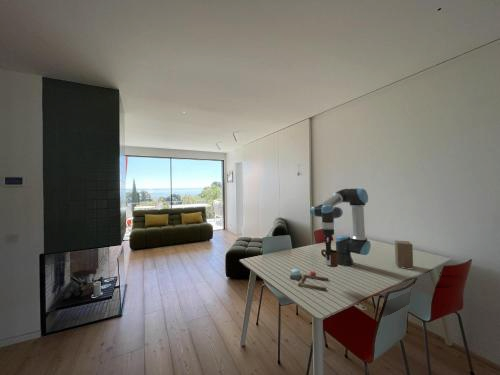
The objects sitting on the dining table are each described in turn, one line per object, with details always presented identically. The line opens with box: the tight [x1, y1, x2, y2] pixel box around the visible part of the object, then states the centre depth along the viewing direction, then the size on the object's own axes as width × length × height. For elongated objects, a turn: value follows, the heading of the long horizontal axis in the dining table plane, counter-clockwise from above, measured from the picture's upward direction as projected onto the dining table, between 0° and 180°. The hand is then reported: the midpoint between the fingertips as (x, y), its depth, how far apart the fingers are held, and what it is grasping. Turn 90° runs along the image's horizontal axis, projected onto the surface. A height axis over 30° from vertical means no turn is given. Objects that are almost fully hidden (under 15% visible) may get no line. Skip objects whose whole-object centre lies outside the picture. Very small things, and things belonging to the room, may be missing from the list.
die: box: [309, 270, 317, 276], centre depth 150 cm, size 4×4×4 cm
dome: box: [291, 268, 301, 276], centre depth 148 cm, size 6×6×3 cm
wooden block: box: [394, 239, 414, 269], centre depth 166 cm, size 10×10×20 cm
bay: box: [297, 273, 329, 292], centre depth 139 cm, size 17×18×2 cm
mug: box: [320, 248, 339, 268], centre depth 136 cm, size 12×8×9 cm, turn 33°
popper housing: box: [289, 272, 303, 281], centre depth 148 cm, size 7×7×2 cm
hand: (328, 262), depth 135 cm, fingers closed on mug, 8 cm apart
